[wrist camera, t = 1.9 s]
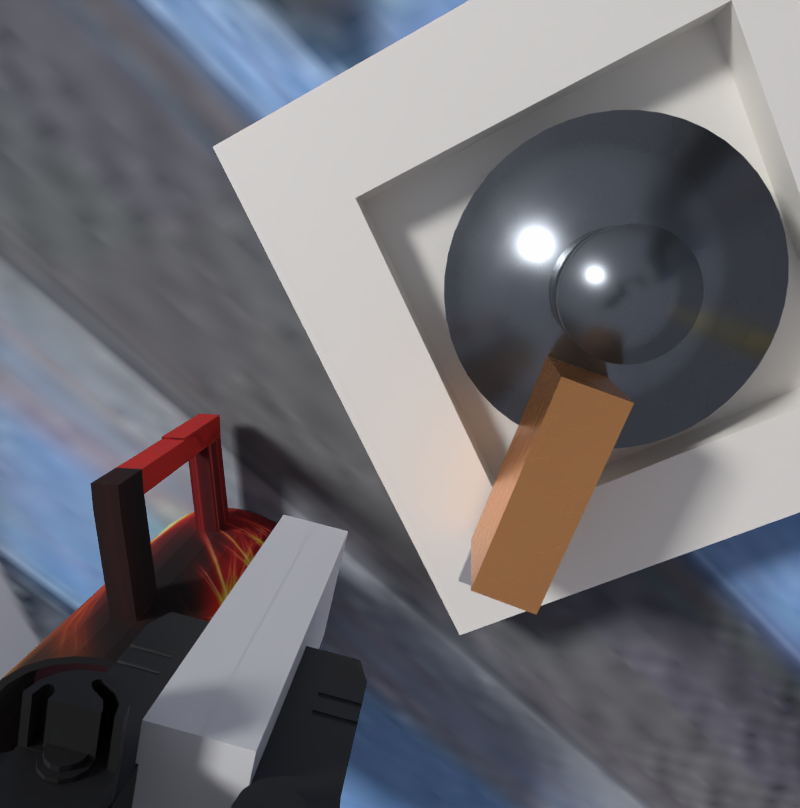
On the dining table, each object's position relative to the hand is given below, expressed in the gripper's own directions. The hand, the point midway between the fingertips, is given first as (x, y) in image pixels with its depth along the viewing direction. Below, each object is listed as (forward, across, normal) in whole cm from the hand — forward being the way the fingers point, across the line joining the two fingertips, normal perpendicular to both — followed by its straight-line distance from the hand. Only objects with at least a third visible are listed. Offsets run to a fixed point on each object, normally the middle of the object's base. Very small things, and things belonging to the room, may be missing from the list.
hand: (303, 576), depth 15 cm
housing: (+16, +7, +8) cm, 19 cm away
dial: (+13, +7, +5) cm, 16 cm away
